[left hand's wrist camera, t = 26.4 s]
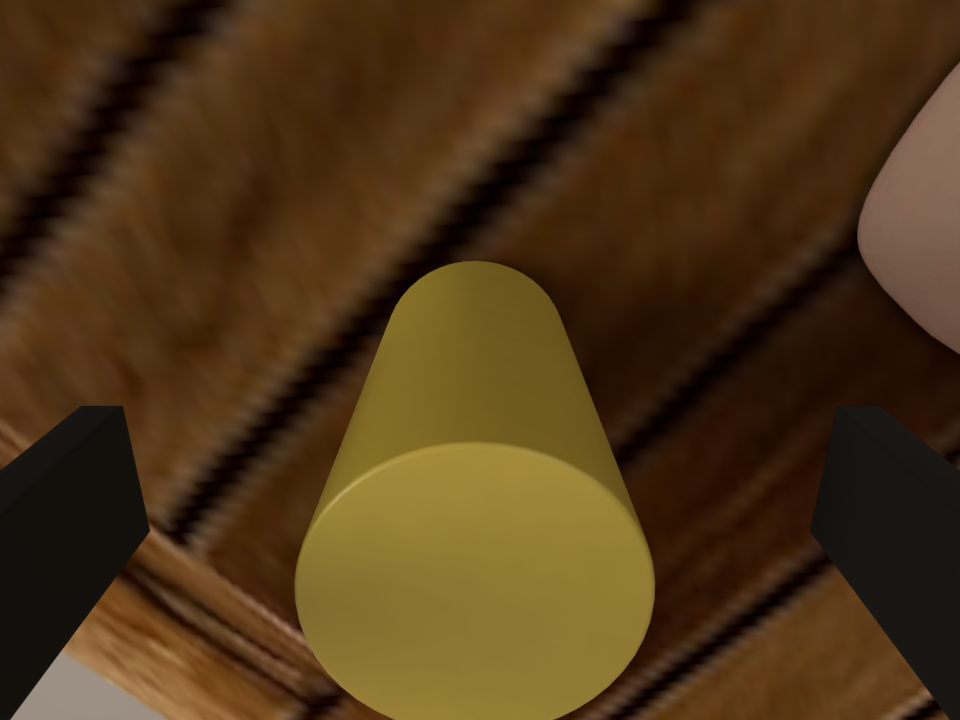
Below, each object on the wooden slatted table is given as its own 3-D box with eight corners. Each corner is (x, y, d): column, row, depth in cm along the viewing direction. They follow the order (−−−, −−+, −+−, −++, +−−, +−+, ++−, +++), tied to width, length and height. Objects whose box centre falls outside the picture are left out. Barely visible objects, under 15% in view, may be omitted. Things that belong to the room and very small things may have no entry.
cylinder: (349, 348, 20) (219, 605, 10) (475, 221, 19) (475, 367, 9) (475, 459, 21) (475, 785, 11) (601, 348, 20) (730, 604, 10)
